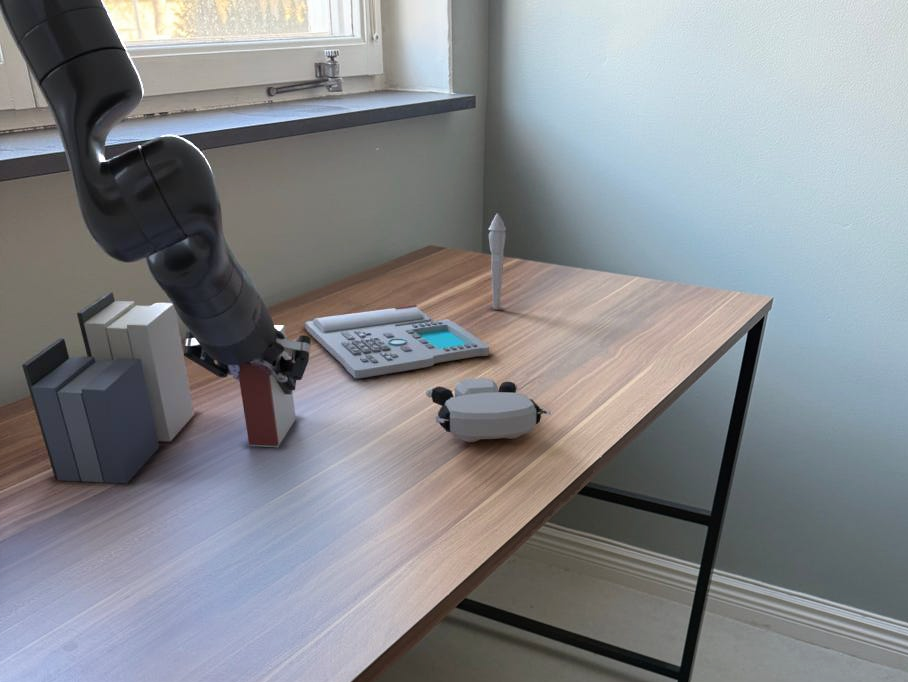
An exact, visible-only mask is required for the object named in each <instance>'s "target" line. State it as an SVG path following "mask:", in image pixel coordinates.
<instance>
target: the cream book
mask: <svg viewBox="0 0 908 682" xmlns="http://www.w3.org/2000/svg"><path fill="white" fill-rule="evenodd" d="M274 327H275V328H276V329H277V330H279V331H280V332H282V333H283V335H284V337H285V339H287V333H286V327H285V325H282V324H281V325H279V324H278V325H277V324H274ZM283 353H284V354H285V355H286V356H287V357H288V358H289V355H288V353H287V352H286V351H283ZM238 375H239V380H238V381H239V387H240V388H239V389H240V394H241V401H242V406H243V408H242V409H243V413H244V419H245V427H246V433H247V434H246V435H247V440H248V445H249V447H264V448H279V446H280V445H281V443H282V442H283V440H284V438H285V437H286V435H287V434H288V433H289V430H290V429H291V427H292V426H293V424H294V423H295V421H296V419H297V418H296V417H297V416H296V411H295V410H296V409H295V402H294V392H293V391H292V394H285V393H284V392H283V390H282V389H281V387H280V386H279V384H278V382H277V380H276V379H275V378H274V377H273V376H269V374H268V373H263V372H262V371H261V370H260V369H259V368H258V367H257V366H253V365H252V364H242V365H241V372H238Z"/></svg>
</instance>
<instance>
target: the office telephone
mask: <svg viewBox="0 0 908 682" xmlns="http://www.w3.org/2000/svg"><path fill="white" fill-rule="evenodd" d="M417 305H418V304H415V305H407V306H406V305H405V306H400V307H399V306H398V307H391V308H385V309H376V310H369V311H362V312H361V311H360V312H353V313H346V314H339V315H332V316H324V317H316V318H315V317H314V319H313V320H308V321H305V323H304V324H305V331H306V332H308V333H309V334H310V336H311V337H313V338H314V339H315V340H316V341H317V342H318V343H319V344H320V345H321V346H322V347H323V348H324V349H326V351H327V352H328V353H330V354H331V355H332V356H333V357H334V358H335V360H337V361H338V362H339V363H340V364H341V365H342V366H343V367H344V368H345V369H346V371H347V372H348V373H349V374H350V375H351V376H352V377H353V378H354V379H364V378H371V377H377V376H381V375H388V374H394V373H400V372H407V371H412V370H418V369H425V368H428V367H432V366H434V364H438V363H444V362H450V361H456V360H462V359H469V358H474V357H487V356H489V354H490V346H489V345H488V344H486V343H485V342H484V341H482V340H481V339H479V338H478V337H477V336H475V335H474V334H473V333H471V332H469V331H468V330H466V329H465V328H464V327H462V326H460V325H459V324H457V323H455V322H454V321H453V320H451V319H448V318H447V319H445V318H444V319H440V320H433V321H432V319H431V317H430V316H428V315H427V314H426V313H424V312H423V311H422V310H421V309H420V308H419V307H418V306H417Z"/></svg>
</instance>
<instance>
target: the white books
mask: <svg viewBox="0 0 908 682" xmlns="http://www.w3.org/2000/svg"><path fill="white" fill-rule="evenodd" d="M76 316H77V320H78V324H79V328H80V331H81V332H80V333H81V336H82V340H83V345H84V348H85V352H86V357H94V358H95V361H116V360H117V359H118V358H133V359H140V360H141V364H142V369H143V374H144V378H145V383H146V388H147V392H148V397H149V402H150V406H151V411H152V416H153V420H154V425H155V430H156V434H157V439H158V442H164V443H165V442H166V443H167V442H168V443H170V442H172V441H173V439H174V438H175V437H177V435H178V434H180V432H181V431H182V429H183V428H184V427H185V426H186V425H187V424H188V423H189V421H190V420H191V419H192V418H193V417H194V416H195V410H194V404H193V399H192V394H191V388H190V383H189V377H188V372H187V366H186V361H185V356H184V350H183V344H182V340H181V334H180V330H179V329H180V328H179V323H178V317H177V312H176V310H175V308H174V306H173V304H172V303H171V302H154V303H153V304H152V305H135V301H126V300H125V301H123V300H115V296H114V291H108V292H106V293H105V294H103V295H101V296H99V298H97V299H95V300H94V301H92V302H91V303H90V304H88V305H86V306H85V307H84V308H82V309H80V310H79V311H77V312H76Z"/></svg>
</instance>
